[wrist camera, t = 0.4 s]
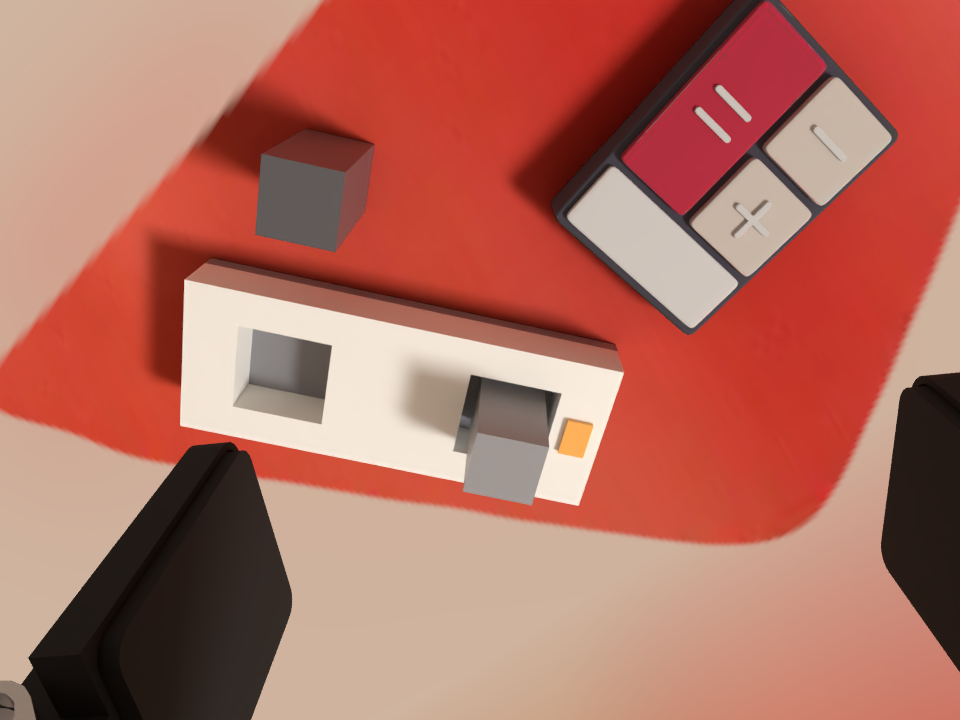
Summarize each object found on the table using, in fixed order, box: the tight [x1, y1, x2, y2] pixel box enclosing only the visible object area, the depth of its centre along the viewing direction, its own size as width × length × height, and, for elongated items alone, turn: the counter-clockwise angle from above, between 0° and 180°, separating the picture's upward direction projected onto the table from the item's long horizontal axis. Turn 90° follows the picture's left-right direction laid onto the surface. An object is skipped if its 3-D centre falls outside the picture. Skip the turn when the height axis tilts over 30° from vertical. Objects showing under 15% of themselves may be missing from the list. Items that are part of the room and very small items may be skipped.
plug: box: [255, 129, 375, 252], centre depth 38 cm, size 4×4×8 cm
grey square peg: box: [463, 377, 549, 505], centre depth 43 cm, size 4×4×8 cm
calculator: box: [551, 0, 898, 335], centre depth 39 cm, size 11×4×15 cm
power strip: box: [180, 258, 624, 506], centre depth 45 cm, size 10×26×4 cm, turn 78°
